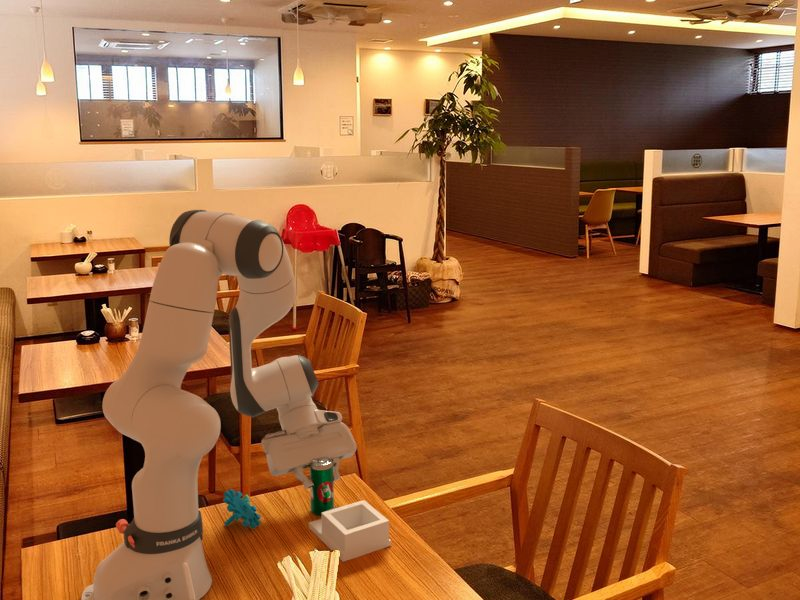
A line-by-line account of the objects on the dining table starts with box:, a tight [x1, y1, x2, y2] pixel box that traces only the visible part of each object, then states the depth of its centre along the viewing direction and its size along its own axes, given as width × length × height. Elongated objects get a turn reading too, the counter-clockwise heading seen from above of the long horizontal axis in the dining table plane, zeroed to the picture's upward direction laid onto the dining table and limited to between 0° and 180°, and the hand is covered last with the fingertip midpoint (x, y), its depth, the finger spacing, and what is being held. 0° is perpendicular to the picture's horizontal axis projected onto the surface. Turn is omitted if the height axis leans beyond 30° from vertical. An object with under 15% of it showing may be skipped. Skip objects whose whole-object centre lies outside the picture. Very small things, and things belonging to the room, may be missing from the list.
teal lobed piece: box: [222, 488, 262, 530], centre depth 162 cm, size 11×6×10 cm
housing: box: [308, 499, 392, 563], centre depth 158 cm, size 11×15×6 cm
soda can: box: [309, 457, 335, 517], centre depth 167 cm, size 5×5×12 cm
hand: (323, 483), depth 166 cm, fingers closed on soda can, 5 cm apart
